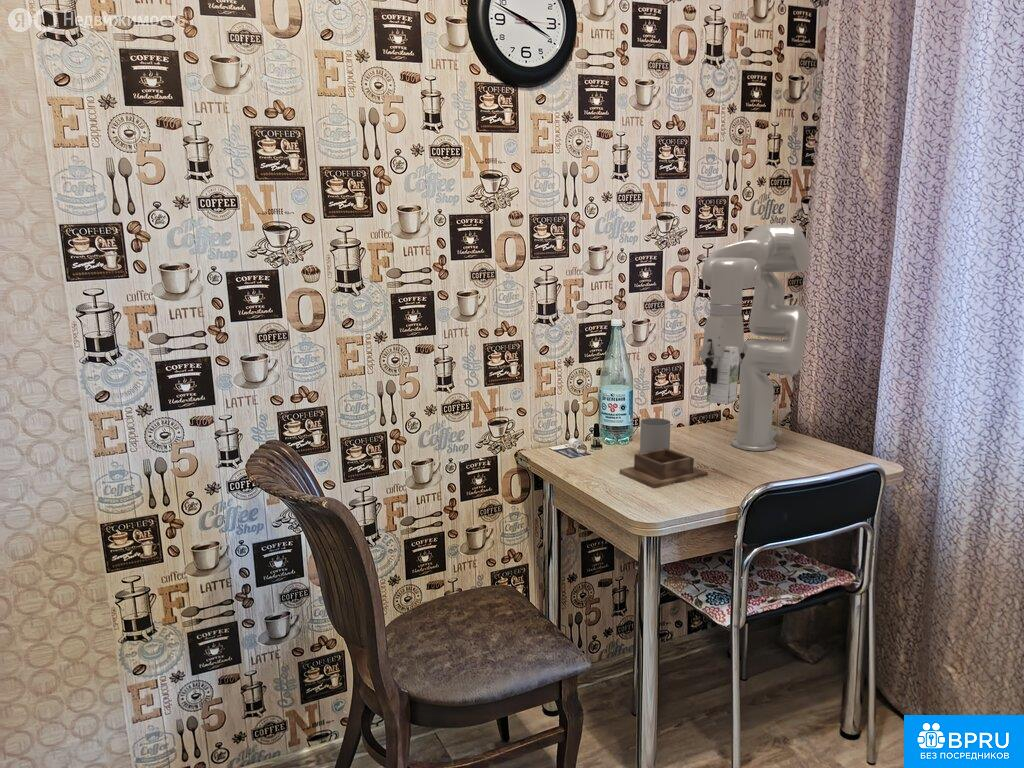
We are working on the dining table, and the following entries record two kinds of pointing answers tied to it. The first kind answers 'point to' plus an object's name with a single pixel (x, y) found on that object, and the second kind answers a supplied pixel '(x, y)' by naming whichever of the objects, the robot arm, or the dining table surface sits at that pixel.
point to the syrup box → (725, 378)
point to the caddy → (662, 468)
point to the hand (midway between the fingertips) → (722, 380)
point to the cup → (654, 434)
